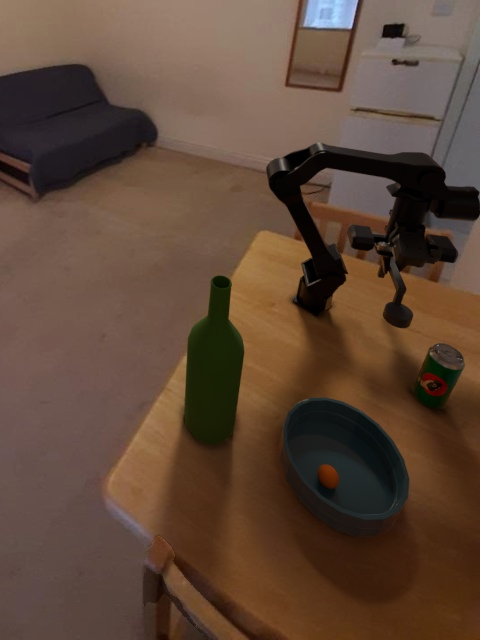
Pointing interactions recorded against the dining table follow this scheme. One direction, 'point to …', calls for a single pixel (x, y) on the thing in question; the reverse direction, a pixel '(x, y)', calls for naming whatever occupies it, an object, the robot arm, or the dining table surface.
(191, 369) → the wine bottle
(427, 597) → the dining table surface
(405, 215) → the robot arm
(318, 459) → the bowl
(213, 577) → the dining table surface
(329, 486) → the orange ball
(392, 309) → the ladle
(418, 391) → the soda can
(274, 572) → the dining table surface
